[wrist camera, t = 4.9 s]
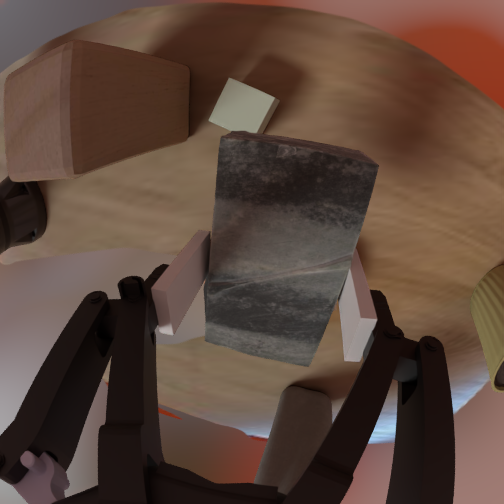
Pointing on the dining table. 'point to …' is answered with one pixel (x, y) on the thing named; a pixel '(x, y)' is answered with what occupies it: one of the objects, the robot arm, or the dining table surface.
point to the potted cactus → (491, 322)
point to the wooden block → (91, 110)
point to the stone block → (282, 242)
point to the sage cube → (243, 108)
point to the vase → (294, 437)
